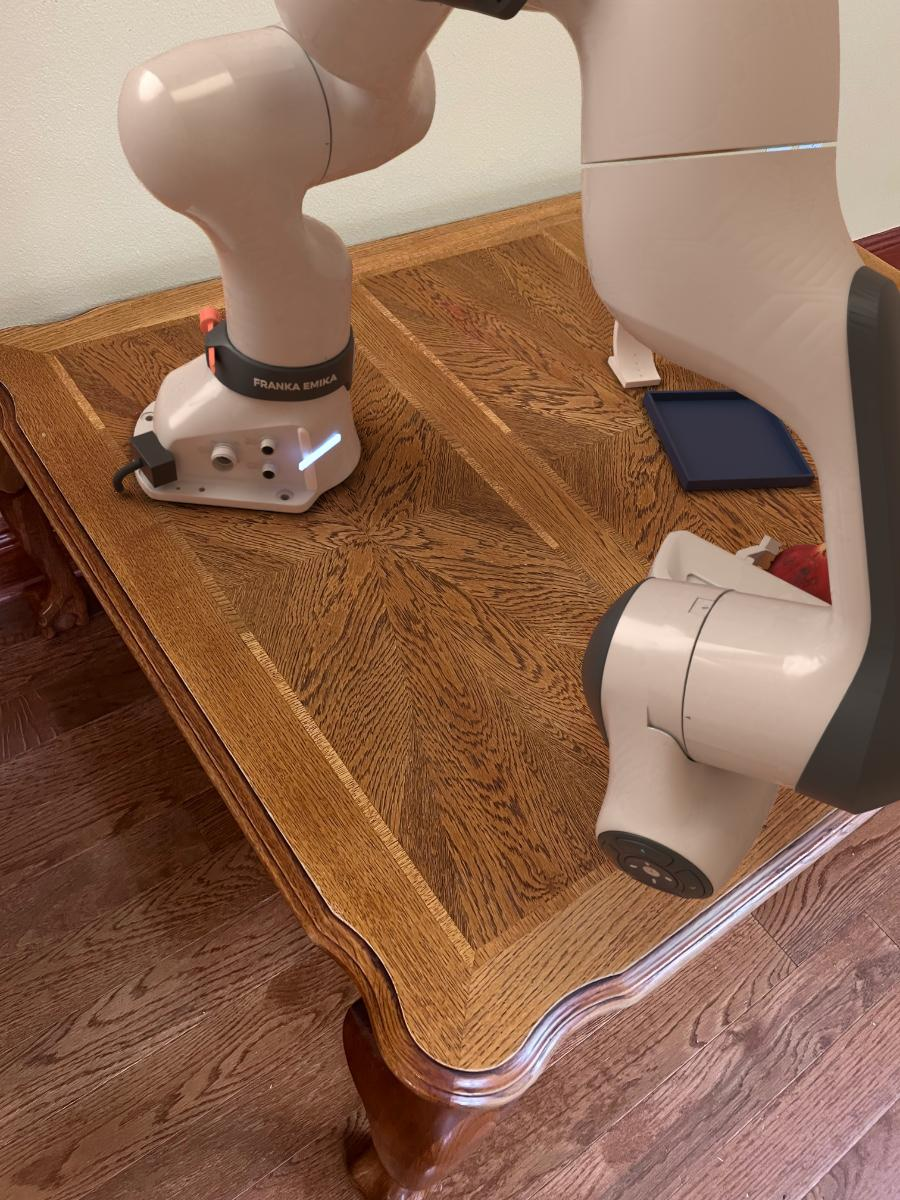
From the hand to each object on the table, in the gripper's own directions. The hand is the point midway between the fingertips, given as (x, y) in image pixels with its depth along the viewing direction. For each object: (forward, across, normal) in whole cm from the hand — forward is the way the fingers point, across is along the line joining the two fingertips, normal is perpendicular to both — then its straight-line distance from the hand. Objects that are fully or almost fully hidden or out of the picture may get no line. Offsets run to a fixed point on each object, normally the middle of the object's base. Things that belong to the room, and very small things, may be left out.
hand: (812, 565), depth 71 cm
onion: (-1, 0, +5) cm, 5 cm away
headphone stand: (+36, +28, +17) cm, 49 cm away
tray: (+32, +14, +17) cm, 38 cm away
